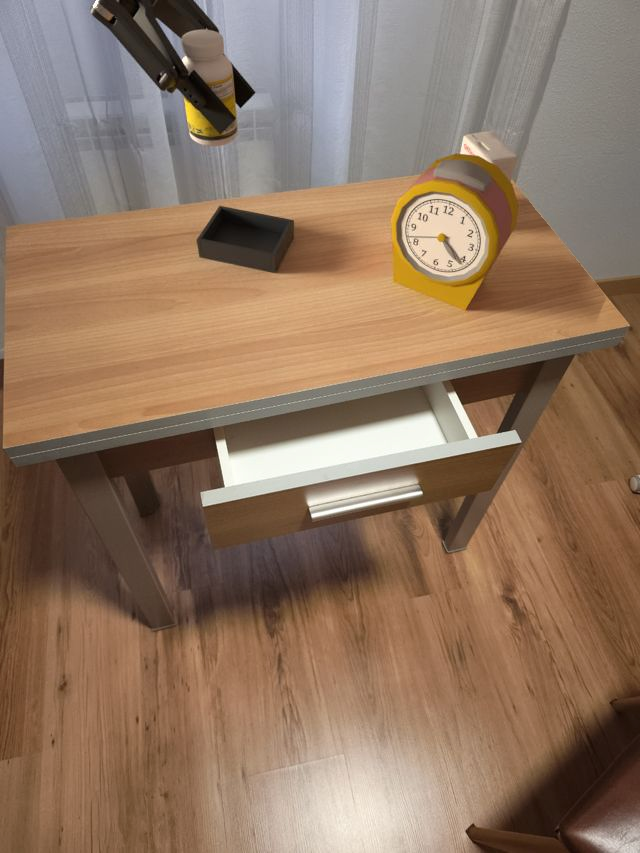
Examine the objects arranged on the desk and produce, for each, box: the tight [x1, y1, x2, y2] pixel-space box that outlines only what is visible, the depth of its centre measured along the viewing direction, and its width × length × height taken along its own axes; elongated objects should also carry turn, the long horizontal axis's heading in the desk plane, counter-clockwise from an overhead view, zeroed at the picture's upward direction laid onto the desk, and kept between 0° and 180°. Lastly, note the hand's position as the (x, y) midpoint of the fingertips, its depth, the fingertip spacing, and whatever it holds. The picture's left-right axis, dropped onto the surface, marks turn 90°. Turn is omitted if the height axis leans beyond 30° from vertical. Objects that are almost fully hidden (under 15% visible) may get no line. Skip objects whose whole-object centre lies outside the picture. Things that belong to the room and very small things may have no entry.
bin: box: [196, 205, 295, 274], centre depth 86 cm, size 12×9×3 cm
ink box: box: [459, 130, 519, 183], centre depth 90 cm, size 9×5×12 cm, turn 21°
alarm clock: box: [390, 153, 519, 311], centre depth 77 cm, size 15×8×18 cm, turn 60°
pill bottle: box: [180, 30, 239, 147], centre depth 68 cm, size 6×6×11 cm
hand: (238, 112), depth 69 cm, fingers closed on pill bottle, 6 cm apart
